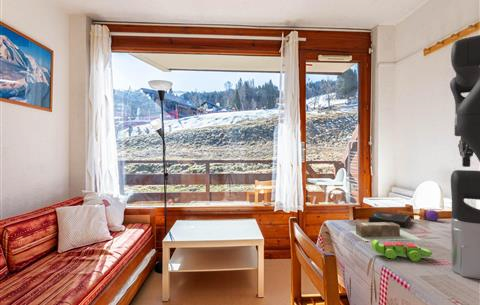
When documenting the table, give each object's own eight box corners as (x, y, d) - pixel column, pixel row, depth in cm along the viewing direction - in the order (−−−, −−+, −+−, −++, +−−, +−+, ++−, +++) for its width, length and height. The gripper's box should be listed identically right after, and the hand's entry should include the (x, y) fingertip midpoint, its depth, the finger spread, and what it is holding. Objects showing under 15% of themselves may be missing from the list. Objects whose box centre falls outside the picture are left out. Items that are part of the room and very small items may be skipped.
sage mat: (401, 230, 129) (401, 229, 129) (422, 240, 115) (422, 239, 115) (349, 231, 128) (349, 230, 128) (364, 241, 114) (364, 240, 114)
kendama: (399, 207, 161) (439, 210, 146) (400, 217, 160) (440, 221, 145) (396, 207, 157) (437, 210, 143) (396, 217, 156) (437, 221, 142)
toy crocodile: (426, 256, 99) (426, 240, 99) (434, 263, 92) (435, 246, 92) (369, 251, 103) (369, 236, 103) (373, 258, 97) (373, 242, 97)
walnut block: (392, 221, 124) (355, 222, 123) (399, 224, 119) (361, 225, 118) (392, 232, 124) (355, 233, 123) (399, 236, 119) (361, 237, 118)
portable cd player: (376, 217, 155) (376, 210, 155) (410, 222, 144) (410, 215, 144) (368, 223, 142) (368, 216, 142) (405, 230, 131) (405, 222, 131)
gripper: (450, 126, 114) (450, 165, 115) (459, 123, 103) (459, 167, 103) (472, 125, 111) (472, 166, 111) (484, 122, 99) (484, 168, 99)
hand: (466, 166), depth 107 cm, fingers closed
